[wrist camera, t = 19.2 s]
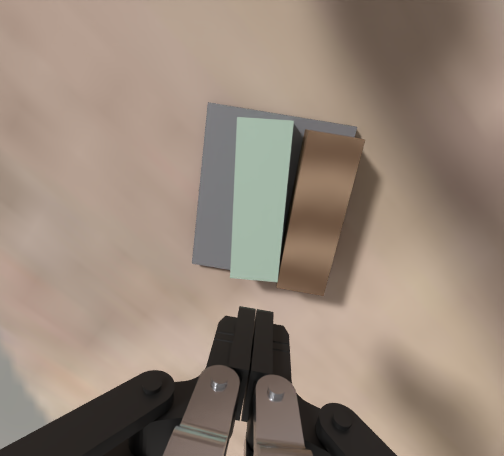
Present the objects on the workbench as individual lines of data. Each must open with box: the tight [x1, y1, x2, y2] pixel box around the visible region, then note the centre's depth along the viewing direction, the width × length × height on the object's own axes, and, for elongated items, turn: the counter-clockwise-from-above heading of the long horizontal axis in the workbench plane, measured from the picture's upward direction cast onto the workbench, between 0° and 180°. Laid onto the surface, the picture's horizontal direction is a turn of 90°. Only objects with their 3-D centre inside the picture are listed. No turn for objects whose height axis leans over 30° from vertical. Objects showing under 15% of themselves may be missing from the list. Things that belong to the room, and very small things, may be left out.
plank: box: [230, 117, 294, 282], centre depth 32 cm, size 16×5×4 cm, turn 177°
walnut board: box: [276, 129, 365, 296], centre depth 32 cm, size 16×5×4 cm, turn 171°
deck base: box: [192, 102, 357, 270], centre depth 35 cm, size 18×15×1 cm
